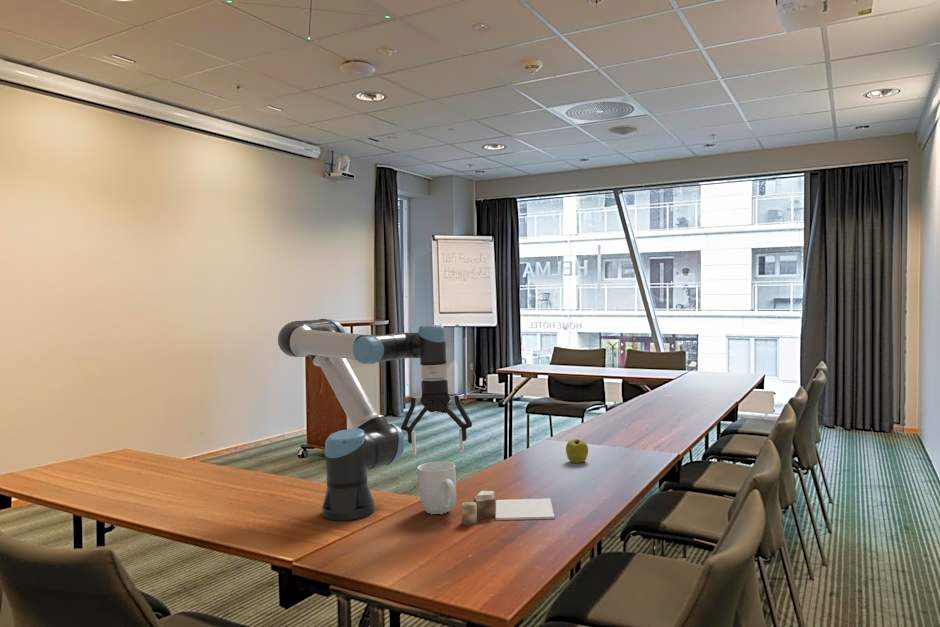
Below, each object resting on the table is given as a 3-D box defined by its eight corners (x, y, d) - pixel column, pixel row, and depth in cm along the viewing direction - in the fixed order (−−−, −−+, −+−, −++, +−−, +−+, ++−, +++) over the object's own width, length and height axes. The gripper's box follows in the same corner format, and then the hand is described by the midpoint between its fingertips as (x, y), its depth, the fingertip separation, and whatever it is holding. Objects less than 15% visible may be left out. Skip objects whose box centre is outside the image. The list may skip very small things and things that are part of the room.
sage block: (476, 510, 185) (475, 496, 185) (481, 504, 191) (481, 490, 191) (490, 511, 184) (489, 497, 184) (494, 504, 190) (494, 491, 190)
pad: (495, 520, 176) (495, 517, 176) (496, 501, 192) (496, 499, 192) (554, 518, 175) (554, 516, 175) (550, 500, 191) (550, 498, 191)
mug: (472, 515, 181) (470, 469, 181) (438, 524, 175) (436, 476, 175) (444, 502, 193) (442, 459, 193) (412, 510, 187) (410, 465, 187)
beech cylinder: (462, 525, 174) (461, 506, 173) (462, 519, 178) (462, 501, 177) (476, 524, 173) (476, 506, 173) (477, 519, 177) (476, 501, 177)
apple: (569, 455, 241) (575, 430, 239) (588, 463, 236) (594, 438, 234) (559, 460, 234) (565, 434, 232) (578, 469, 230) (585, 443, 228)
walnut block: (478, 519, 178) (477, 501, 178) (474, 513, 183) (473, 496, 183) (495, 517, 179) (494, 499, 179) (491, 511, 184) (490, 494, 184)
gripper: (388, 382, 181) (392, 458, 181) (477, 378, 180) (481, 454, 180) (393, 379, 189) (397, 451, 189) (478, 375, 187) (482, 448, 188)
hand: (438, 453), depth 184 cm, fingers open, 13 cm apart
